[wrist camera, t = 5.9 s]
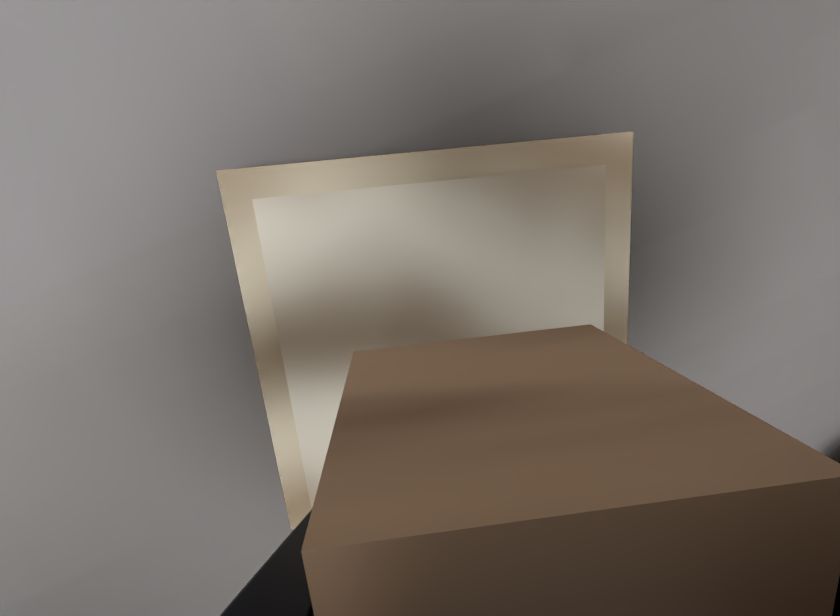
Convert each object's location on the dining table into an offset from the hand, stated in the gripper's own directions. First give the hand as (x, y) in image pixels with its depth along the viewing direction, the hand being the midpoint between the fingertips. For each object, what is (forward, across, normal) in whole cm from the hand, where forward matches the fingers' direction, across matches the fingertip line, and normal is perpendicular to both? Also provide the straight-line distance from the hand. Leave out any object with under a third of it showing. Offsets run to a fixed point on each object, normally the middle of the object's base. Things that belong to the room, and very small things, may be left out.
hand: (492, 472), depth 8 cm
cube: (+1, 0, 0) cm, 1 cm away
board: (+9, 0, 0) cm, 9 cm away
